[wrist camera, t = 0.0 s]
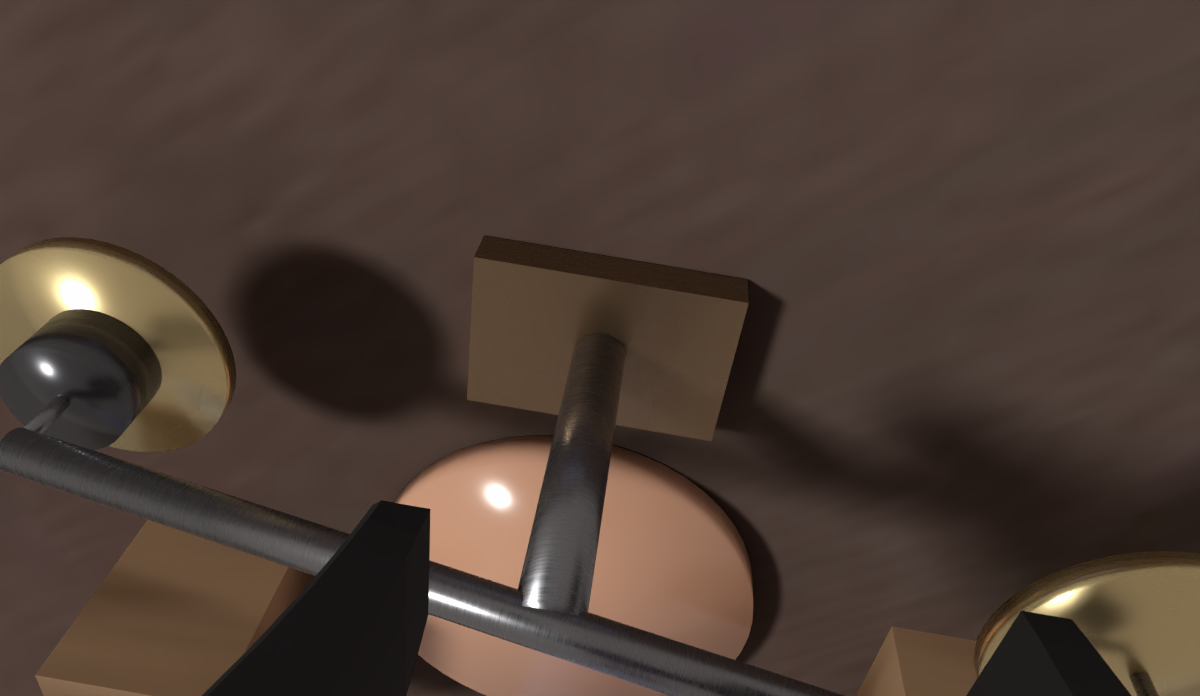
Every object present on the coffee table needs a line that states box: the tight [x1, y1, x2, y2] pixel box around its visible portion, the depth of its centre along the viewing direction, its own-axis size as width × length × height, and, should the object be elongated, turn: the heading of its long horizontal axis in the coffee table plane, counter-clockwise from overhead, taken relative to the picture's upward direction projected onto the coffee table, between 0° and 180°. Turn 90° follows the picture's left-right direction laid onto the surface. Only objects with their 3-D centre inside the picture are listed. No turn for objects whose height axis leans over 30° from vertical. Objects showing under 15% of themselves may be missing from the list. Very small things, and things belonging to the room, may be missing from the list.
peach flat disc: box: [394, 436, 753, 696], centre depth 26 cm, size 11×11×1 cm
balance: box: [0, 236, 1200, 696], centre depth 17 cm, size 25×5×11 cm, turn 83°
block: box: [35, 520, 315, 696], centre depth 25 cm, size 4×4×6 cm
